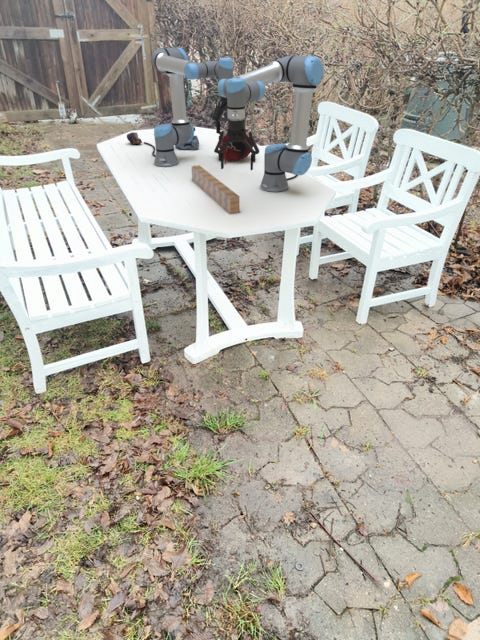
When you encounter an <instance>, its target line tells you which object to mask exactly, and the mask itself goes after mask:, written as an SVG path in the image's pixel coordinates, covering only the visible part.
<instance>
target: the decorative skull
mask: <svg viewBox="0 0 480 640" xmlns="http://www.w3.org/2000/svg"><path fill="white" fill-rule="evenodd" d="M224 131H228V128H226V129H225V130H224ZM245 131H246V132H249V130H247V129H246V128H245ZM220 136H221V134H218V140H219V139H220ZM244 138H245V139H246V141H247V142H248V143H249V144H250V146H251V147H252V148H253V149H254V147H253V145H252V143H251V140H250V138H249V137H248V136H247V135H245V137H244ZM228 139H229V137H228V135H227V134H226V135H225V136H224V137H223V140H222V142H221V144H220V146H219V149H218V150H220V149H221V148H222V147H223V145H224V144H225V143H226V142H227V140H228ZM222 153H223V159H224V165H225V164H226V163H227V161H232V162H238V161H242V160H244V159H246V158H248V157H249V155H251V152H250V151H249V150H248V148H247V147H246V146H245V145H244V144H243V143H242V141H241V142H232V141H230V142H229V144H228V145H227V146H226V148H225V149H224V150H223V151H222Z"/></svg>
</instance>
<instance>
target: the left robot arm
mask: <svg viewBox="0 0 480 640" xmlns="http://www.w3.org/2000/svg"><path fill="white" fill-rule="evenodd" d="M150 63H151V66H152V67H153V69H155V70H156V71H158V72H162V73H163V72H165V74H166V75H167V76H168V81H169V90H170V100H171V109H172V118H173V119H172V120H171V123H161V124H158V125H156V126H155V127H154V129H153V136H154V145H153V144H151V143H149V142H146V141H144V142H143V144H145V145H147V146H151V147H152V148H153V150H152V153H151V155H152V156H153V157H154V165H155V166H157V167H163V168H164V167H165V168H167V167H168V168H169V167H174V166H177V165H178V164H179V159H178V157H177V153H176V151H175V145H178V144H183V143H187V142H190V141H192V139H193V137H194V136H195V131H194V128H193V127H194V125H193V123H191V124H190V122H191V121H190V119H188V118H187V117H188V116H187V106H186V95H185V85H184V84H185V83H184V77H185V78H186V79H187V80H198V79H208V78H219V81H220V80H221V79H226V78H227V79H231V78H234V61H233V58H231V57H220V58H219V59H218V61H216V60H215V61H214V60H207V61H202V62H194V61H190V60H189V58H188V55H187V52H186V51H185V50H184V49H183V48H182V47H176V46H174V47H160V48H156V49H155V50H154V51H153V52H152V53H151V55H150ZM219 81H218V82H219ZM219 99H220V101H215V108H214V111H213V113H212V118H211V121H214V124H215V131H216V134H218V135H219V134H221V131H222V130H221V121H220V120H221V117H222V115H223V114H224V112H225V111H226V110H228V105H227V98H225V97H222V96H220V95H219ZM189 121H190V122H189ZM192 125H193V126H192Z"/></svg>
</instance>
